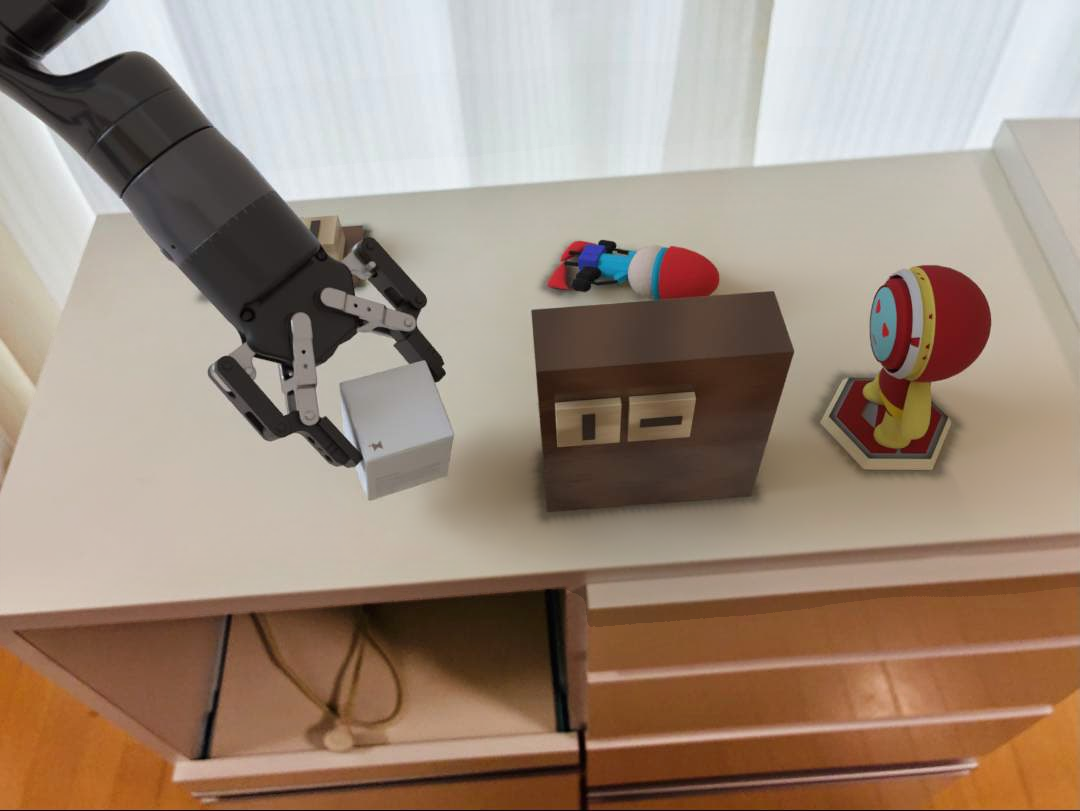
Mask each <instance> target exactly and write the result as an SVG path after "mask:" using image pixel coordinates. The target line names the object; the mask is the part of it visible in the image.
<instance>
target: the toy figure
mask: <svg viewBox="0 0 1080 811" xmlns="http://www.w3.org/2000/svg"><path fill="white" fill-rule="evenodd" d="M613 252H616V253H617V254H615V253H614V254H613ZM576 256H578V257H577V261H569V260H570V259H572V258H574V257H576ZM559 261H560V262H562V263H560V264H559V266H557V268H556V269H555V270H554V272H553V273H552V275H551V276H550V278H549V279H548V282H547V284H546V285H547V286H548V287H550V288H553V289H558V290H569V289H570V288H569V287H568V285H567V267H569V266H570V267H577V268H578V272H576V273H575V278H573V280H571V282H570V285H571V288H572V290H573V291H574V292H580V293H588V292H589V291H591V288H592V285H595V286H596V287H597V286H608V285H615V284H617V285H621V284H622V283H624V282H625V281H626V282H629V285H630V287H631V289H632V290H633V291H634V292H635V293H636V294H637V295H639V296H641V297H643V298H653V300H663V299H676V298H689V297H702V296H712V294H714V292H715V291H716V290H717V289H718V287H719V285H720V282H721V281H720V280H721V277H720V273H719V271H718V268H717V266H716V265H715V263H713V262H712V261H711V260H710V259H708V258H707V257H706V256H704V255H703V254H700V253H699V252H697V251H695V250H691V249H688V248H687V247H681V246H674V245H670V246H669V247H665V246H661V245H654V244H653V245H648V246H645V247H643V248H641V249H640V250H639V251H637V250H629V249H628V250H627V249H623V248H617V243H616V242H615V241H613V240H608V239H600V240H599V241H598V242H597V243H595V242H590V241H584V240H574V241H573V242H571V243H570V245H569V246H568V247H567V248H566V249H565V250H564V252H563V253H562V255H561V257H560V260H559ZM600 278H605V279H611V280H602V281H601V280H600V281H596V280H599V279H600Z"/></svg>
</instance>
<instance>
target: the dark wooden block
mask: <svg viewBox="0 0 1080 811" xmlns="http://www.w3.org/2000/svg"><path fill="white" fill-rule="evenodd" d="M530 314H531V327H532V339H533V340H532V341H533V352H534V354H533V355H534V365H535V380H536V391H537V404H538V417H539V429H540V440H541V442H540V443H541V444H540V445H541V454H542V467H543V470H542V471H543V481H544V482H543V483H544V493H545V494H544V495H545V506H546V507H545V508H546V512H549V513H550V512H563V511H575V510H577V511H578V510H588V509H600V508H601V509H602V508H613V507H614V508H615V507H625V506H640V505H653V504H654V505H655V504H665V503H678V502H689V501H690V502H691V501H704V500H705V501H706V500H715V499H717V500H718V499H728V498H729V499H730V498H742V497H752V495H753V491H754V487H755V484H756V481H757V478H758V475H759V474H758V473H759V470H760V468H761V465H762V461H763V458H764V455H765V452H766V447H767V444H768V441H769V437H770V434H771V431H772V427H773V424H774V420H775V418H776V414H777V411H778V408H779V404H780V401H781V398H782V394H783V392H784V388H785V384H786V380H787V377H788V374H789V370H790V368H791V364H792V362H793V361H792V360H793V358H794V354H795V348H794V346H793V343H792V339H791V336H790V333H789V331H788V328H787V326H786V321H785V319H784V316H783V313H782V310H781V307H780V304H779V301H778V298H777V295H776V292H775V290H770V291H769V290H768V291H755V292H754V291H753V292H742V293H728V294H717V295H709V296H702V297H689V298H676V299H663V300H655V299H652V300H651V299H650V300H638V301H637V300H636V301H625V302H613V303H612V302H611V303H599V304H588V305H587V304H585V305H575V306H573V305H572V306H562V307H561V306H560V307H548V308H536V309H531V311H530Z"/></svg>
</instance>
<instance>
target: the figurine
mask: <svg viewBox="0 0 1080 811" xmlns="http://www.w3.org/2000/svg"><path fill="white" fill-rule="evenodd" d="M991 329H992V313H991V307H990V304H989V301H988V299H987V297H986V295H985V294H984V291H983V290H982V289H981V287H980V286H979V285H978V284H977V283H976V282H975V281H974V280H973V279H972V278H970V277H969V276H968V275H966V274H964V273H963V272H961V271H960V270H957V269H954V268H951V267H948V266H943V265H939V264H921V265H917V266H912V267H910V268H901V269H899V270H897V271H895V272H893V273H892V274H891V275H889V276H888V277H887V279H886V280H885V282H884V284H882V285H881V286H880V287H878V289H877V290H876V292H875V294H874V297H873V300H872V303H871V308H870V314H869V341H870V348H871V351H872V354H873V357H874V358H875V360H876V362H878V363H880V365H881V369H880V370H879V371H878V374H877V375H876V376H875V377H847V378H843V379H841V382H840V384H839V386H838V387H837V390H836V392H835V393H834V395H833V397H832V399H831V401H830V403H829V404H828V406H827V408H826V410H825V412H824V414H823V416H822V418H821V420H820V422H819V424H820V425H821V426H822V427H823V428H824V429H825V430H826V431H827V432H828V433H829V434H830V436H831V437H832V438H833V439H834V440H835V441H836V442H837V443H838V444H839V445H840V446H841V447H842V448H843V450H845V451H846V453H847V454H849V456H850V457H851V458H852V459H853V460H854V461H855V462H856V463H857V465H858V466H859V467H861V469H862V470H873V471H875V470H879V471H881V470H882V471H886V470H887V471H933V469H934V467H935V465H936V462H937V460H938V458H939V454H940V452H941V450H942V447H943V445H944V442H945V440H946V438H947V435H948V433H949V430H950V428H951V426H952V421H951V418H950V416H948V414H946V413H945V412H944V411H943V410H942V409H941V408H940V407H939V406H938V405H936V403H935V402H934V401H932V389H931V388H932V387H931V385H932V383H933V382H940V381H944V380H948V379H951V378H952V377H955V376H957V375H959V374H960V373H962V372H964V371H965V370H966V369H968V368H969V367H970V366H972V364H974V363H975V362H976V361H977V359H978V358H979V357H980V356H981V354H982V352H984V349H985V348H986V346H987V344H988V341H989V338H990V335H991Z"/></svg>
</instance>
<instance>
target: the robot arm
mask: <svg viewBox="0 0 1080 811" xmlns="http://www.w3.org/2000/svg"><path fill="white" fill-rule="evenodd" d="M110 1H111V0H0V92H1V93H2V94H3V95H5V96H7V97H8V98H10V99H11V100H12V101H14V102H15V103H17V105H19V106H20V107H22V108H23V109H25V110H26V111H27V112H29V113H30V114H32V115H33V116H34V117H36V118H37V119H38V120H39V121H41V122H42V123H43V124H45V125H46V126H47V127H48V128H49V129H50V130H51V131H53V132H54V133H55V134H57V136H59V137H60V138H61V139H62V140H63V141H64V142H65V143H66V144H67V145H68V146H70V147H71V148H72V150H74V152H76V153H77V154H78V155H79V157H81V158H82V160H83V161H84V162H85V163H86V164H87V165H88V166H89V167H90V168H91V169H92V170H93V172H95V174H96V175H97V176H98V177H99V178H100V179H101V180H102V182H104V184H106V185H107V186H108V188H109V189H110V190H111V191H112V192H113V193H114V194H115V195H116V197H118V198H119V199H121V202H122V203H123V204H124V205H125V206H126V208H127V209H128V210H129V211H130V213H131V214H132V216H133V217H134V218H135V220H136V221H137V223H138V224H139V225H140V227H141V228H142V230H143V231H144V232H145V233H146V234H147V236H148V237H149V238H150V239H151V240H152V242H154V243H155V244H156V246H157V247H158V249H159V252H161V254H163V256H164V257H165V258H166V259H167V260H168V261H169V262H171V263H173V264H174V265H175V266H176V267H177V268H178V269H179V270H180V272H182V273H183V275H185V277H186V278H187V279H188V280H189V281H190V282H191V283H192V284H193V285H194V286H195V287H196V289H198V291H199V292H200V293H201V294H202V295H203V297H205V298H206V299H207V301H209V302H210V304H212V305H213V306H214V308H215V309H216V310H217V311H218V313H220V314H221V315H222V317H223V318H224V319H226V320H227V322H228V323H230V325H232V327H234V328H235V330H236V331H237V333H238V335H239V337H240V341H241V345H240V346H238V347H237V348H235V349H234V350H233V351H232V352H230V353H229V354H228V355H223V356H221V357H219V358H218V359H217V360H215V361H214V362H213V363H211V364H210V365H209V366H208V367H207V376H208V378H209V379H210V381H211V382H212V383H213V384H214V385H215V386H216V387H217V389H219V391H221V393H222V394H223V395H224V396H225V397H226V398H227V400H228V401H229V402H230V403H231V404H232V405H233V406H234V407H235V409H236V410H237V411H238V412H239V413H240V414H241V415H242V417H243V418H244V419H245V420H246V421H247V422H248V423H249V424H250V426H251V427H252V428H253V429H254V430H255V431H256V432H257V434H258V435H259V436H260V437H261V438H262V439H263V440H264V441H266V442H274V441H277V440H280V439H284V438H286V437H288V436H291V435H292V434H298V435H300V436H302V437H303V438H304V439H305V440H306V441H307V443H309V444H310V445H311V446H312V447H313V448H314V450H315V451H316V452H318V454H319V455H320V456H321V457H322V458H323V459H324V460H325V461H326V462H327V463H328V464H329V465H331V466H333V467H335V468H337V467H342V466H343V467H344V468H346V469H351V468H356V466H357V465H358V464H359V463H360V462H361V461H362V460H363V456H362V455H361V453H360V452H359V451H358V450H357V449H356V448H355V447H354V446H353V445H352V444H351V443H350V441H349V440H348V439H347V438H346V437H345V434H344V433H342V431H341V430H340V429H339V428H338V427H337V426H336V425H335V424H334V423H333V422H332V420H330V418H328V416H327V415H324V416H322V417H321V416H320V409H319V403H318V397H317V386H318V374H317V367H319V366H321V365H323V364H325V363H326V362H327V361H329V359H330V358H332V357H333V356H334V355H335V353H336V351H337V350H338V348H339V346H340V345H343V344H344V343H346V342H348V341H350V340H352V339H353V338H354V337H355V336H356V335H357V334H358V333H364V334H365V333H370V334H375V335H378V336H382V337H386V338H389V339H393V340H394V341H395V342H394V344H393V347H394V348H395V350H396V351H397V352H398V353H399V354H400V355H401V357H402V358H403V359H404V360H405V361H406V362H407V363H408V364H412V363H415V362H420V361H423V360H425V361H426V363H427V365H428V367H429V370H430V372H431V375H432V377H433V379H434V382H435V384H436V383H439V382H441V380H443V378H444V377H445V376H446V375H447V372H446V370H445V368H444V365H445V361H444V359H443V356H442V355H441V354H440V353H439V351H437V350H436V348H435V347H434V346H433V344H432V343H431V342H430V341H429V339H428V338H427V337H426V336H425V335H424V334H423V332H422V331H421V330H420V329H419V327H418V318H419V316H420V314H421V312H422V309H423V308H425V307H426V306H427V304H428V297H427V295H426V293H424V292H423V290H422V289H421V288H420V287H419V286H418V285H417V284H416V283H415V282H414V280H412V278H411V277H410V276H409V275H408V274H407V273H406V272H405V270H403V268H402V267H401V266H400V265H399V264H398V263H397V262H396V261H395V259H394V258H393V257H392V256H391V255H390V254H389V253H388V252H387V251H386V250H385V249H384V247H383V246H382V245H381V244H380V243H379V242H378V241H377V240H376V238H374V237H372V236H366V237H363V240H361V241H360V242H358V243H357V244H356V245H354V247H353V248H351V249H350V250H349V253H348V255H347V256H346V257H345V258H344V259H343V260H342V261H341V262H340V261H337V260H335V259H333V258H332V257H330V256H329V255H328V254H327V253H326V252H325V250H324V249H323V247H322V245H321V244H320V242H319V241H318V239H317V238H316V237H315V236H314V235H313V234H312V232H311V231H310V230H309V229H308V228H307V227H306V225H305V224H304V223H303V222H302V221H301V220H300V218H301V217H299V216H298V215H297V214H296V212H295V211H294V210H293V208H291V206H289V204H288V203H287V202H286V201H285V200H284V199H283V197H282V196H281V195H280V194H279V193H278V191H276V190H275V188H274V187H273V185H271V183H270V182H269V181H268V180H267V179H266V178H265V176H264V175H263V174H262V173H261V172H260V171H259V169H258V168H257V167H256V165H254V163H253V162H252V161H251V160H250V159H249V158H248V157H247V156H246V155H245V153H243V152H242V151H241V150H240V149H239V148H238V147H237V146H236V145H235V144H233V143H232V142H231V140H229V139H228V138H227V137H226V136H225V135H224V134H223V133H222V132H221V131H220V130H219V129H218V128H217V127H215V125H214V124H213V123H212V121H211V120H210V119H209V118H208V117H207V116H206V114H205V113H204V112H203V111H202V110H201V109H200V108H199V106H198V105H197V104H196V103H195V102H194V100H193V99H192V98H191V97H190V96H189V94H187V92H186V91H185V90H184V89H183V88H182V86H181V85H180V84H179V82H177V81H176V79H175V78H174V77H173V75H172V74H170V72H169V71H168V70H167V69H166V68H165V67H164V66H163V65H162V64H161V63H160V62H159V61H158V60H157V59H156V58H154V57H153V56H151V55H150V54H148V53H146V52H143V51H137V50H129V51H123V52H119V53H117V54H113V55H111V56H109V57H106V58H103V59H102V60H99V61H97V62H96V63H94V64H91V65H89V66H87V67H85V68H82V69H79V70H77V71H74V72H69V73H65V74H57V73H54V72H52V71H51V70H50V69H49V68H48V67H47V66H46V65H45V63H44V62H43V61H44V60H45V59H46V57H47V56H48V55H50V54H51V53H52V52H53V51H55V50H56V49H57V48H58V47H60V46H61V45H62V44H63V43H65V42H66V41H68V39H70V38H71V37H72V36H73V35H74V34H76V33H77V32H78V31H79V30H81V29H82V28H83V27H84V26H85V25H87V24H88V23H89V22H90V21H92V20H93V19H94V18H95V17H96V16H97V15H98V14H99V13H100V12H102V11H103V10H104V9H105V8H106V6H107V5H108V4H109V2H110ZM352 274H354V275H356V276H357V277H359V278H358V279H360V280H368V281H369V282H370V284H372V286H373V287H374V288H375V289H376V290H377V291H378V292H379V293H380V294H381V295H382V297H384V299H385V300H386V301H387V302H388V303H389V304H390V306H391V307H393V309H392V308H389V307H387V306H386V304H383V303H380V302H377V301H373V300H369V299H367V298H363V297H359V296H356V290H355V287H354V283H353V277H352ZM253 358H255V359H259V360H263V361H266V362H271V363H275V364H277V367H278V376H279V384H280V389H281V392H282V394H283V396H284V401H285V408H286V414H283V413H282V411H281V410H280V409H279V408H278V407H277V406H276V405H275V403H274V402H273V400H271V399H270V398H269V397H268V395H267V394H266V393H265V392H264V391H263V389H262V388H261V387H260V386H259V384H257V383H256V381H255V379H256V377H257V370H256V368H255V366H254V363H253Z"/></svg>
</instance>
